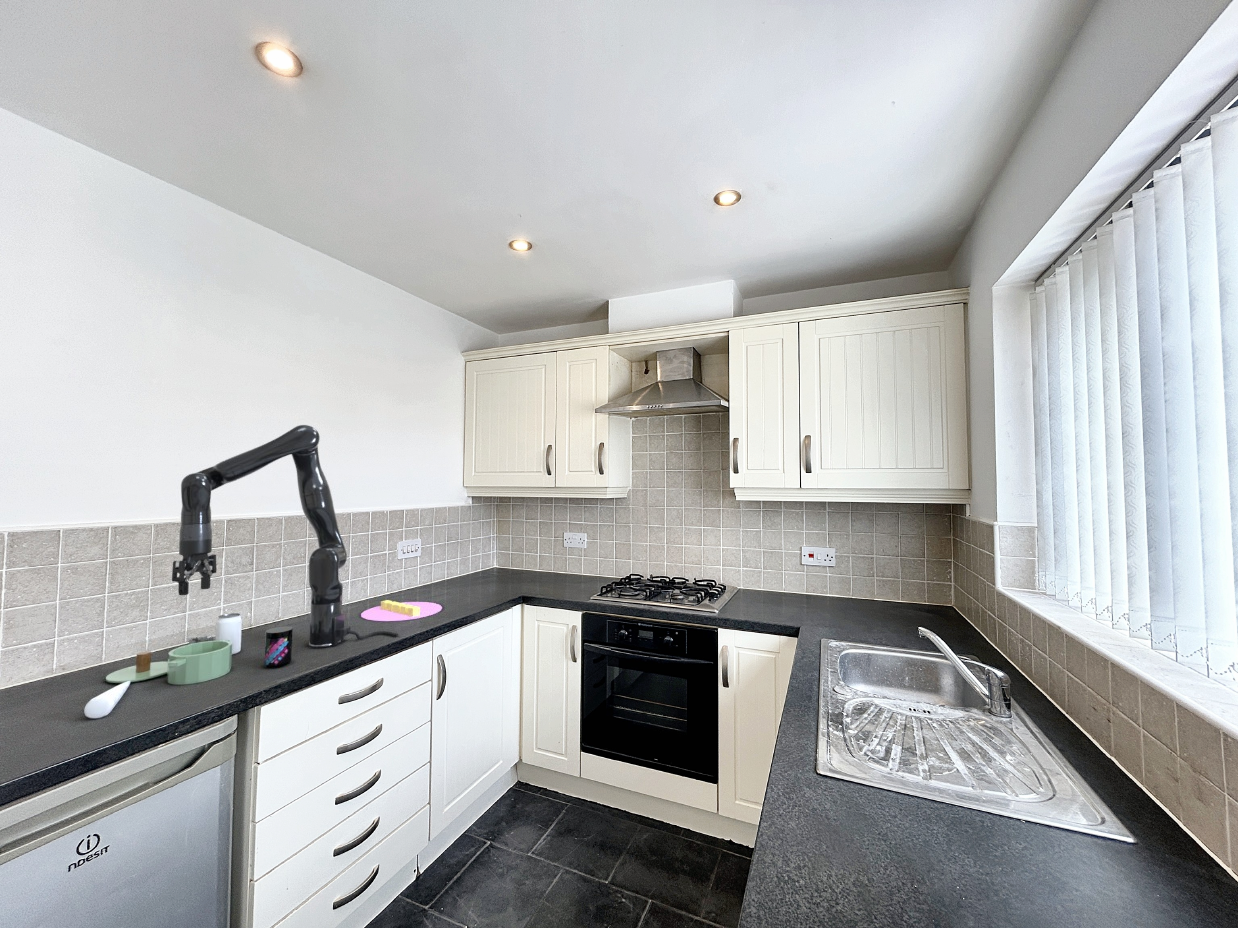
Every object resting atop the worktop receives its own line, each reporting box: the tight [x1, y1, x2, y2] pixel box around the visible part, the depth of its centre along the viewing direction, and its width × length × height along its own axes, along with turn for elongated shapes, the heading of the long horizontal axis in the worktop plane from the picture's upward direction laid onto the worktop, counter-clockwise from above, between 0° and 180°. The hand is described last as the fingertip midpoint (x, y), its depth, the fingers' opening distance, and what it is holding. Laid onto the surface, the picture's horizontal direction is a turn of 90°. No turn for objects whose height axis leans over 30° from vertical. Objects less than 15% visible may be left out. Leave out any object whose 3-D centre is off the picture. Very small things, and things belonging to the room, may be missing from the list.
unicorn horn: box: [83, 681, 131, 719], centre depth 122 cm, size 5×24×5 cm, turn 29°
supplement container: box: [264, 625, 294, 669], centre depth 146 cm, size 7×7×10 cm
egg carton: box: [187, 635, 215, 645], centre depth 159 cm, size 11×8×4 cm
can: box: [214, 612, 243, 656], centre depth 156 cm, size 6×6×12 cm
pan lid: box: [105, 650, 168, 684], centre depth 138 cm, size 15×15×6 cm
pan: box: [166, 640, 233, 686], centre depth 138 cm, size 14×19×8 cm
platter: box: [360, 599, 443, 622], centre depth 209 cm, size 32×32×3 cm
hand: (194, 591), depth 148 cm, fingers open, 8 cm apart
